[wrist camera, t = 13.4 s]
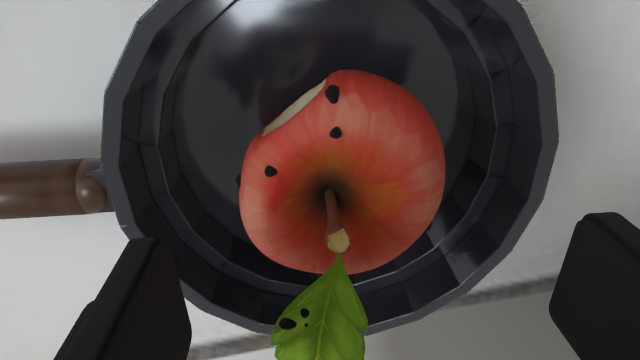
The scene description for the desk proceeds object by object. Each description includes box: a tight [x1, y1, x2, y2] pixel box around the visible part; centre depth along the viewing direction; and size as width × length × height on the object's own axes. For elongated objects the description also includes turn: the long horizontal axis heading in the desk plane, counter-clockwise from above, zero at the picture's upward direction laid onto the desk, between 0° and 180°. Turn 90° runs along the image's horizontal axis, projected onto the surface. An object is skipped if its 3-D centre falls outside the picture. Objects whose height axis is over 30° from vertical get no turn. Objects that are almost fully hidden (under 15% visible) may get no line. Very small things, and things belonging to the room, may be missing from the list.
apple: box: [236, 69, 445, 360], centre depth 13 cm, size 8×7×10 cm
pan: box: [100, 0, 559, 336], centre depth 16 cm, size 16×16×4 cm
